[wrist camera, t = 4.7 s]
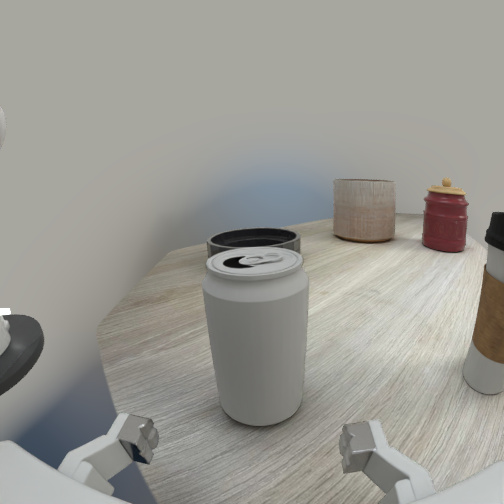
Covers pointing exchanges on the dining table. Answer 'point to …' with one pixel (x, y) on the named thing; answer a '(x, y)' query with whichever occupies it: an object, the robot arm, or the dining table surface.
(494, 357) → the coffee cup
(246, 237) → the grey shallow round dish
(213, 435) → the dining table surface
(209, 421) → the dining table surface
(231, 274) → the beverage can
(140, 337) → the dining table surface
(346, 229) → the planter
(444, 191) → the kitchen canister
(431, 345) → the dining table surface
